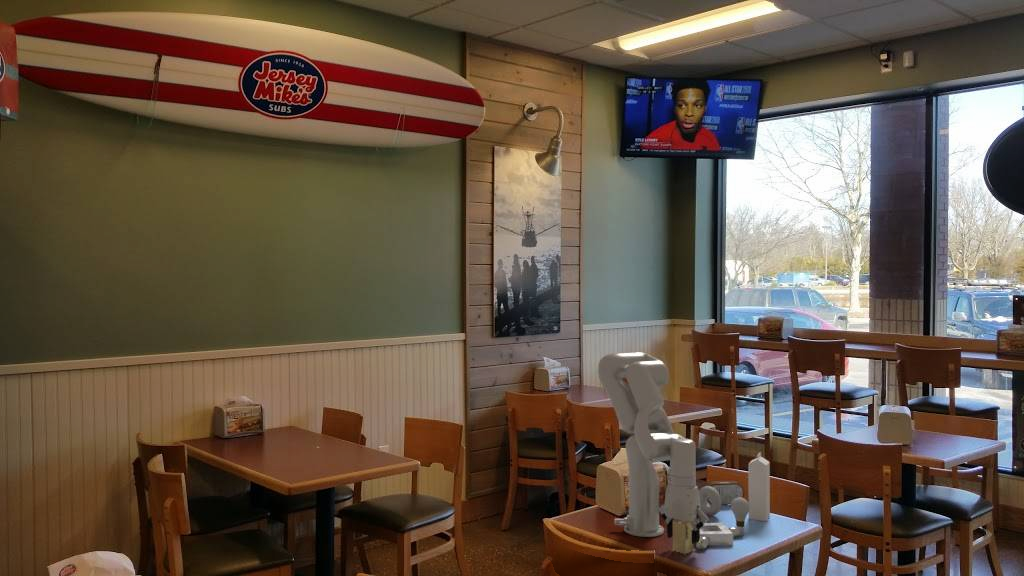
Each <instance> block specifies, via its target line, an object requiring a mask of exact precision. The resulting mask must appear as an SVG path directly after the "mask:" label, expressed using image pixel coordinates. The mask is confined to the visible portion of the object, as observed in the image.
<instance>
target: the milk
mask: <svg viewBox="0 0 1024 576" xmlns="http://www.w3.org/2000/svg"><path fill="white" fill-rule="evenodd" d="M770 464H771V462H770V461H769V460H768V459H766V458H764V457H762V452H759V453H758V454H757V455H756V457H755V458H754V459H752V460H751V461H749V463H748V467H747V468H748V479H747V480H748V483H747V484H748V487H747V489H748V491H747V492H748V503H749V506H750V510H749V512H748V520H753V521H760V522H761V521H762V522H768V520H769V519H770V517H771V515H770V514H771V513H770V512H771V510H770V509H771V508H770V506H771V503H770V502H771V501H770V500H771V497H770V496H771V495H770V494H771V493H770V491H771V487H770V485H771V482H770V480H771V479H770V478H771V477H770V476H771V474H770V473H771V472H770V471H771V470H770V468H771V467H770V466H771V465H770ZM768 518H769V519H768Z"/></svg>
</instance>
